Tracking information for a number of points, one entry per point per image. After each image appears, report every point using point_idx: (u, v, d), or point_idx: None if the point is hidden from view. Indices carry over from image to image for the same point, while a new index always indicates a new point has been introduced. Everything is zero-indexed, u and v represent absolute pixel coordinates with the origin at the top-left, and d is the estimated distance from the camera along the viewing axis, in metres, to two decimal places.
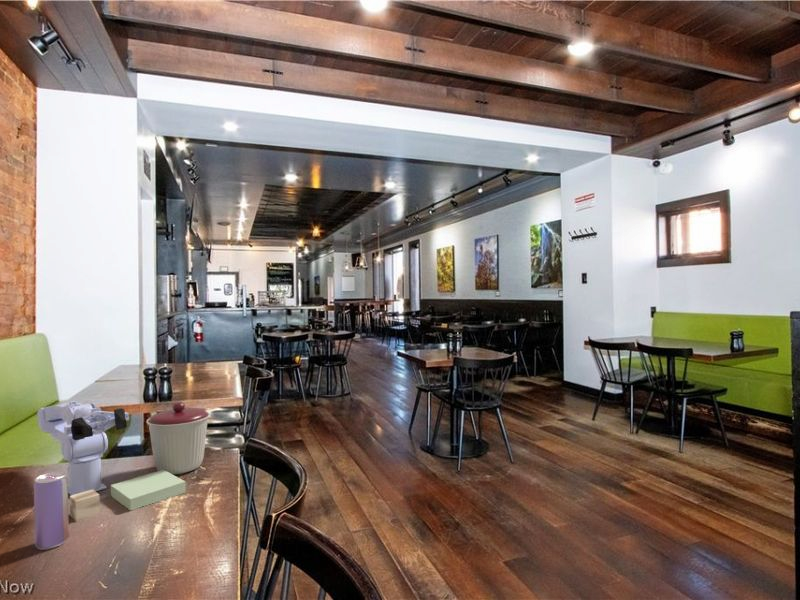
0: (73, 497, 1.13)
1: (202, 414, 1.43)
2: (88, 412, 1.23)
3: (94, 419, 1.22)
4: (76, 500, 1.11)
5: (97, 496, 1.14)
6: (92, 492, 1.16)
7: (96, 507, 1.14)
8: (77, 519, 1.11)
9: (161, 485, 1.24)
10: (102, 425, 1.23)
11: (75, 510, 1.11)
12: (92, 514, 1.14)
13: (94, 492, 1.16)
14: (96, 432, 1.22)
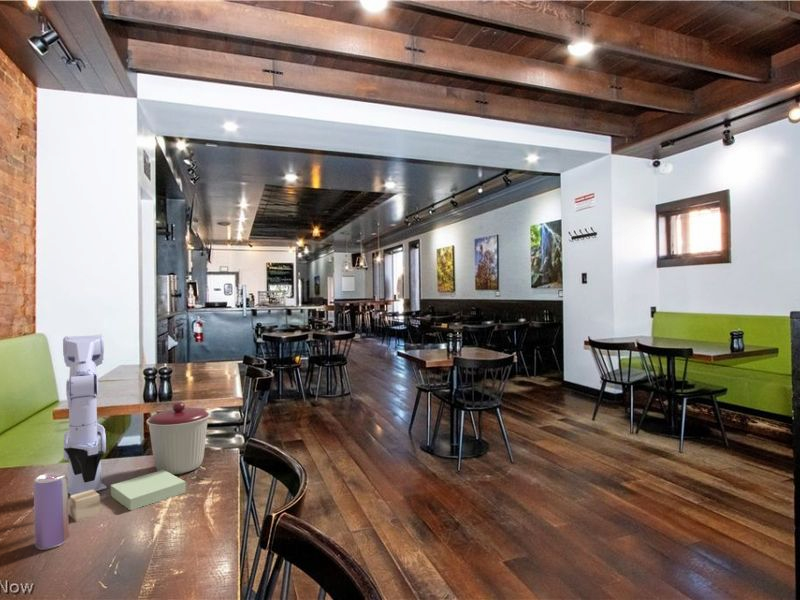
0: (73, 497, 1.13)
1: (202, 414, 1.43)
2: None
3: None
4: (76, 500, 1.12)
5: (97, 496, 1.14)
6: (92, 492, 1.16)
7: (96, 507, 1.14)
8: (77, 519, 1.11)
9: (161, 485, 1.24)
10: None
11: (75, 510, 1.11)
12: (92, 514, 1.14)
13: (94, 492, 1.16)
14: None
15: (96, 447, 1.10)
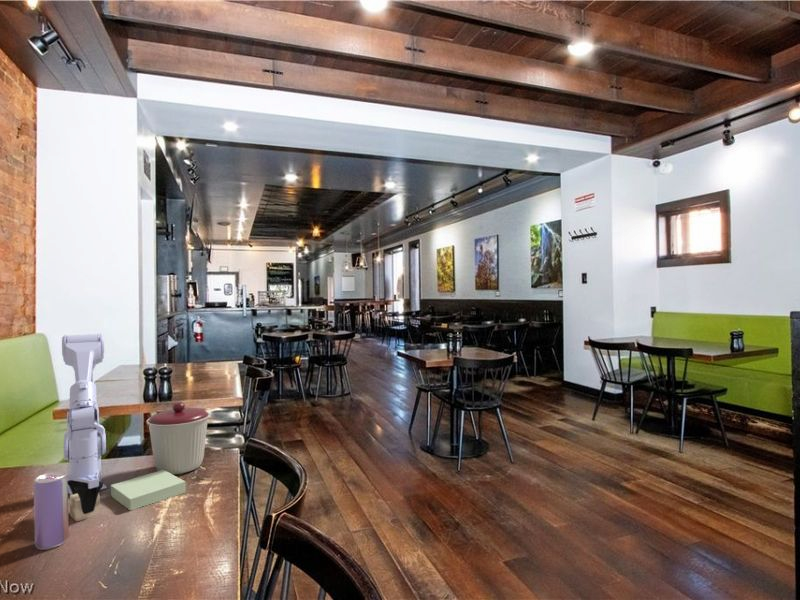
0: (73, 497, 1.13)
1: (202, 414, 1.43)
2: (70, 465, 1.13)
3: None
4: (76, 500, 1.11)
5: (97, 496, 1.14)
6: None
7: (96, 507, 1.14)
8: (77, 519, 1.11)
9: (161, 485, 1.24)
10: None
11: (75, 510, 1.11)
12: (92, 514, 1.13)
13: None
14: None
15: (97, 480, 1.10)
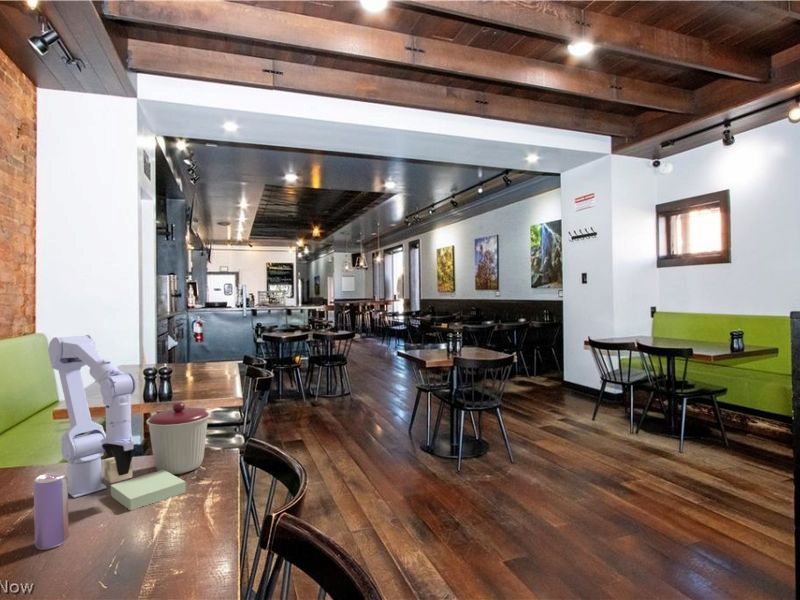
0: (108, 460, 1.19)
1: (202, 414, 1.43)
2: (106, 429, 1.19)
3: None
4: (111, 462, 1.17)
5: None
6: None
7: (129, 470, 1.20)
8: (112, 480, 1.17)
9: (161, 485, 1.24)
10: None
11: (110, 472, 1.17)
12: (125, 476, 1.19)
13: None
14: None
15: (131, 443, 1.16)
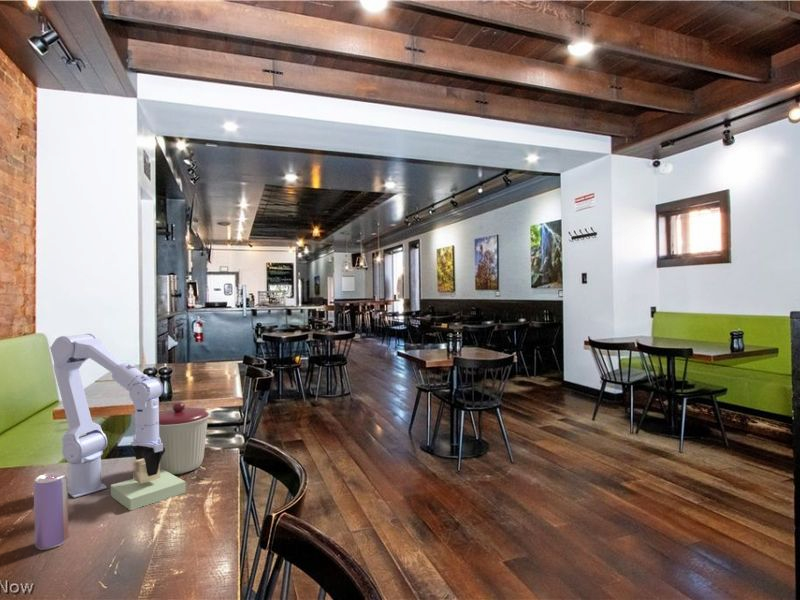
0: (136, 462, 1.24)
1: (202, 414, 1.43)
2: None
3: None
4: (140, 464, 1.23)
5: None
6: None
7: None
8: (141, 481, 1.22)
9: (161, 485, 1.24)
10: None
11: (139, 473, 1.22)
12: (154, 477, 1.25)
13: None
14: None
15: (161, 445, 1.22)
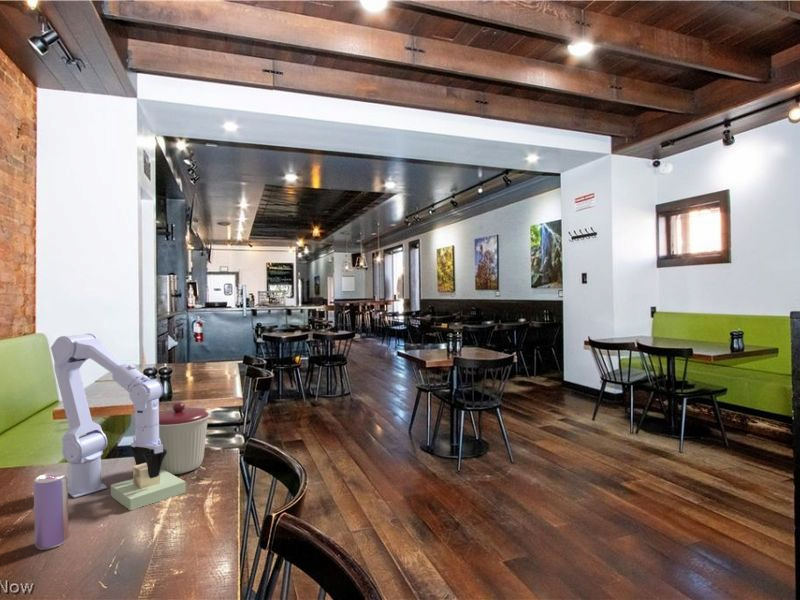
0: (136, 467, 1.24)
1: (202, 414, 1.43)
2: None
3: None
4: (140, 469, 1.23)
5: None
6: None
7: (157, 476, 1.25)
8: (141, 486, 1.22)
9: (161, 485, 1.24)
10: None
11: (139, 478, 1.22)
12: (154, 482, 1.25)
13: None
14: None
15: (161, 446, 1.22)
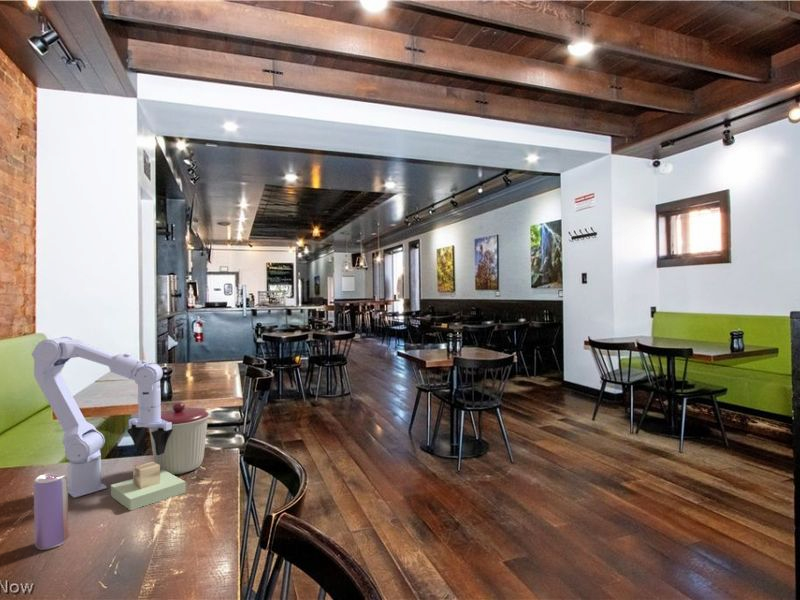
0: (136, 467, 1.24)
1: (202, 414, 1.43)
2: (139, 414, 1.30)
3: None
4: (140, 469, 1.23)
5: (158, 466, 1.26)
6: (152, 463, 1.27)
7: (157, 476, 1.25)
8: (141, 486, 1.22)
9: (161, 485, 1.24)
10: None
11: (139, 478, 1.22)
12: (154, 482, 1.25)
13: (154, 463, 1.27)
14: None
15: (170, 423, 1.30)
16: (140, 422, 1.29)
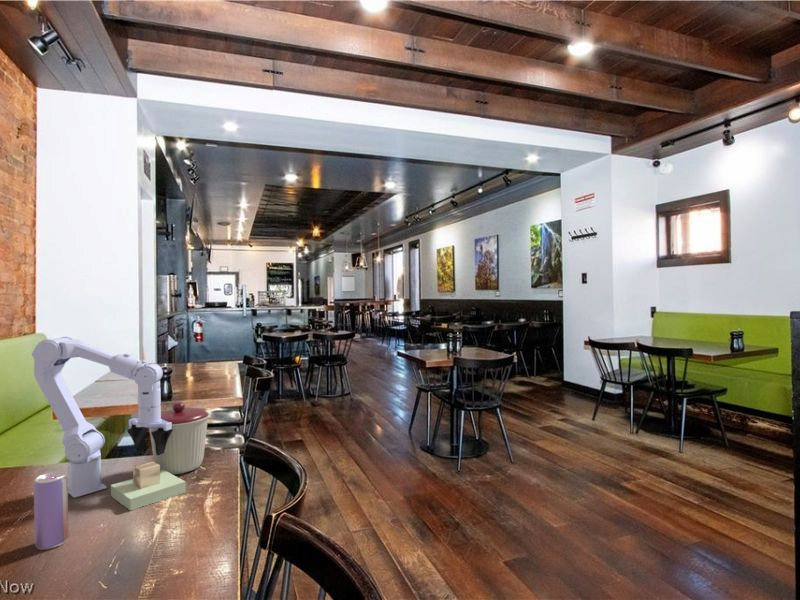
0: (136, 467, 1.24)
1: (202, 414, 1.43)
2: (139, 414, 1.30)
3: None
4: (140, 469, 1.23)
5: (158, 466, 1.26)
6: (152, 463, 1.27)
7: (157, 476, 1.25)
8: (141, 486, 1.22)
9: (161, 485, 1.24)
10: None
11: (139, 478, 1.22)
12: (154, 482, 1.25)
13: (154, 463, 1.27)
14: None
15: (170, 423, 1.30)
16: (140, 422, 1.29)
